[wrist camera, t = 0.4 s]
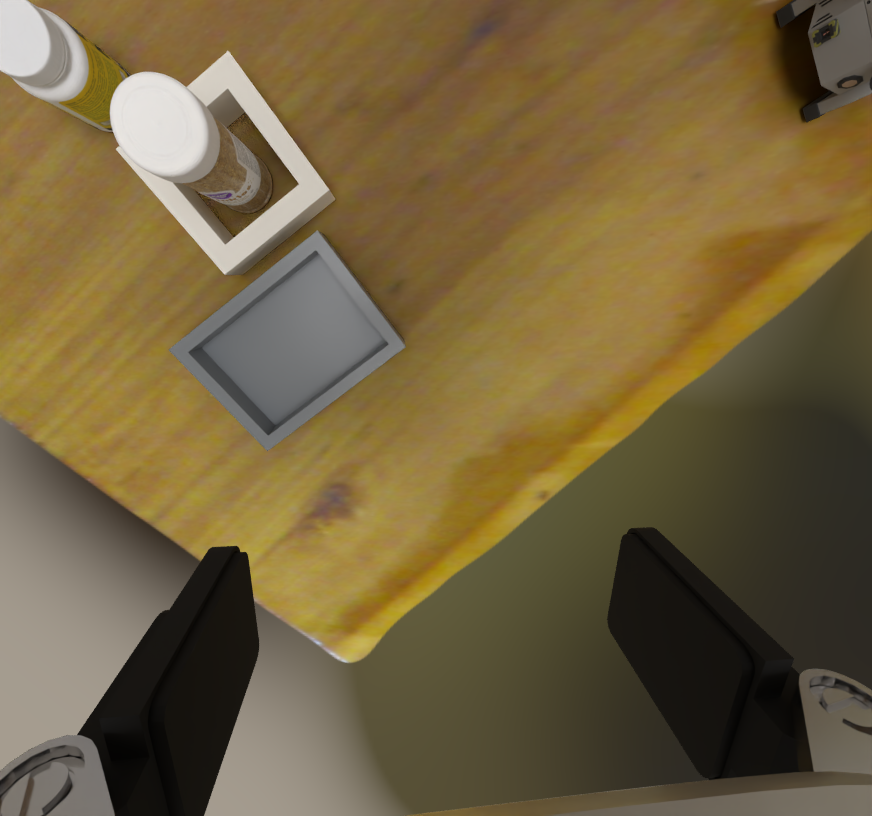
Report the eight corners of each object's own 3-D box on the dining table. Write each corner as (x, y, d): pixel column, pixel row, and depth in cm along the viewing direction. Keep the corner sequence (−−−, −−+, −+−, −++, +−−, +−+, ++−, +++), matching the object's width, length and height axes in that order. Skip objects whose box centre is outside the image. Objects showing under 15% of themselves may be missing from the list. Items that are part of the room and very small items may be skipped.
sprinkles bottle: (231, 222, 34) (138, 189, 21) (203, 161, 33) (84, 87, 20) (284, 202, 34) (223, 157, 21) (258, 140, 33) (175, 53, 20)
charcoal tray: (324, 234, 35) (317, 230, 32) (404, 340, 38) (405, 346, 35) (188, 343, 36) (168, 349, 33) (277, 436, 40) (267, 451, 36)
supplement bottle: (141, 66, 30) (55, -9, 22) (144, 139, 32) (63, 93, 24) (68, 50, 30) (-49, -33, 22) (73, 126, 31) (-35, 73, 23)
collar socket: (247, 78, 31) (228, 50, 28) (335, 199, 34) (329, 189, 31) (147, 164, 32) (115, 149, 28) (242, 274, 35) (224, 274, 31)
